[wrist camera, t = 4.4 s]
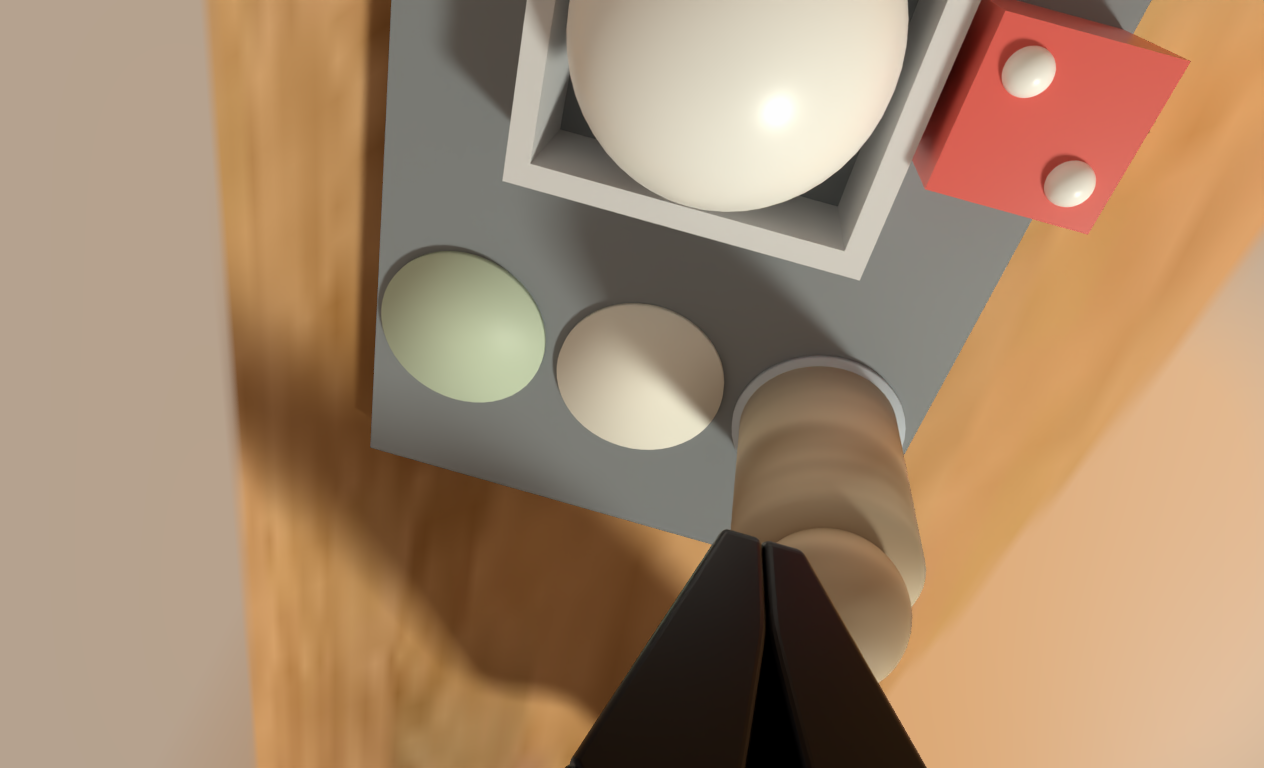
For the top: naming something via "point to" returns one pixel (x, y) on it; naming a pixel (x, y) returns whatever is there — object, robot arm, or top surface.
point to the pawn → (835, 498)
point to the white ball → (734, 90)
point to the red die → (1043, 113)
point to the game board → (644, 272)
